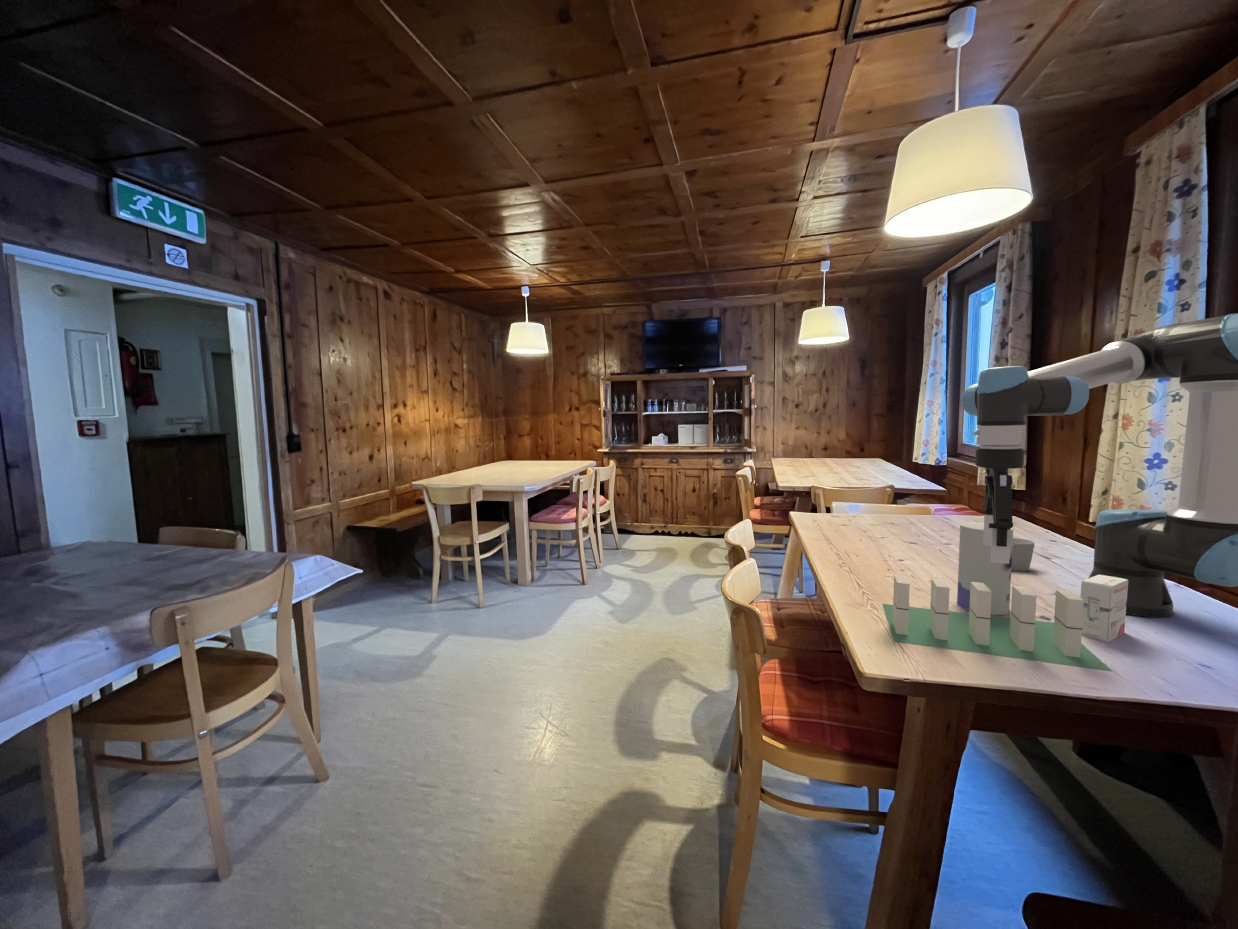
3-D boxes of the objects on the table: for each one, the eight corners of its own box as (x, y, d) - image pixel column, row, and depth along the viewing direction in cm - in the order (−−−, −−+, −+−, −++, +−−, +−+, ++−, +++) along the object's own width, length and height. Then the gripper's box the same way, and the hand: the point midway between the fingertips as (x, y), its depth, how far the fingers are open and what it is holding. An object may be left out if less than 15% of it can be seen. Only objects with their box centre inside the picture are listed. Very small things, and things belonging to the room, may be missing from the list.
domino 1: (904, 624, 108) (905, 576, 107) (908, 635, 103) (909, 583, 102) (892, 623, 109) (893, 574, 108) (895, 633, 103) (897, 582, 102)
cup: (1038, 570, 145) (1040, 541, 144) (1020, 575, 140) (1021, 546, 139) (1009, 563, 151) (1010, 536, 151) (990, 568, 147) (991, 540, 146)
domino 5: (1067, 645, 97) (1070, 590, 96) (1080, 657, 92) (1084, 600, 91) (1052, 643, 98) (1055, 589, 97) (1065, 655, 93) (1068, 599, 92)
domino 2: (941, 629, 105) (943, 579, 104) (947, 640, 100) (949, 587, 99) (929, 628, 106) (931, 578, 105) (934, 638, 101) (936, 586, 100)
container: (1018, 617, 111) (1022, 530, 109) (968, 614, 113) (971, 529, 112) (995, 601, 121) (999, 521, 119) (949, 599, 123) (953, 520, 121)
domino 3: (981, 634, 102) (983, 582, 101) (989, 645, 97) (991, 591, 96) (968, 632, 103) (970, 581, 102) (975, 644, 98) (977, 590, 97)
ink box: (1095, 626, 106) (1098, 572, 105) (1126, 634, 102) (1130, 579, 101) (1076, 635, 102) (1080, 579, 101) (1108, 644, 98) (1112, 586, 97)
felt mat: (1058, 625, 107) (1058, 623, 107) (1112, 673, 87) (1112, 671, 87) (882, 605, 120) (882, 603, 120) (893, 643, 100) (893, 641, 100)
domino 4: (1023, 639, 100) (1025, 586, 99) (1033, 651, 94) (1036, 596, 93) (1009, 637, 100) (1012, 585, 99) (1019, 649, 95) (1022, 594, 94)
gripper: (970, 443, 108) (967, 538, 110) (982, 451, 87) (977, 567, 89) (1014, 443, 105) (1009, 541, 106) (1036, 451, 83) (1031, 573, 85)
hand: (995, 553), depth 98 cm, fingers open, 13 cm apart
